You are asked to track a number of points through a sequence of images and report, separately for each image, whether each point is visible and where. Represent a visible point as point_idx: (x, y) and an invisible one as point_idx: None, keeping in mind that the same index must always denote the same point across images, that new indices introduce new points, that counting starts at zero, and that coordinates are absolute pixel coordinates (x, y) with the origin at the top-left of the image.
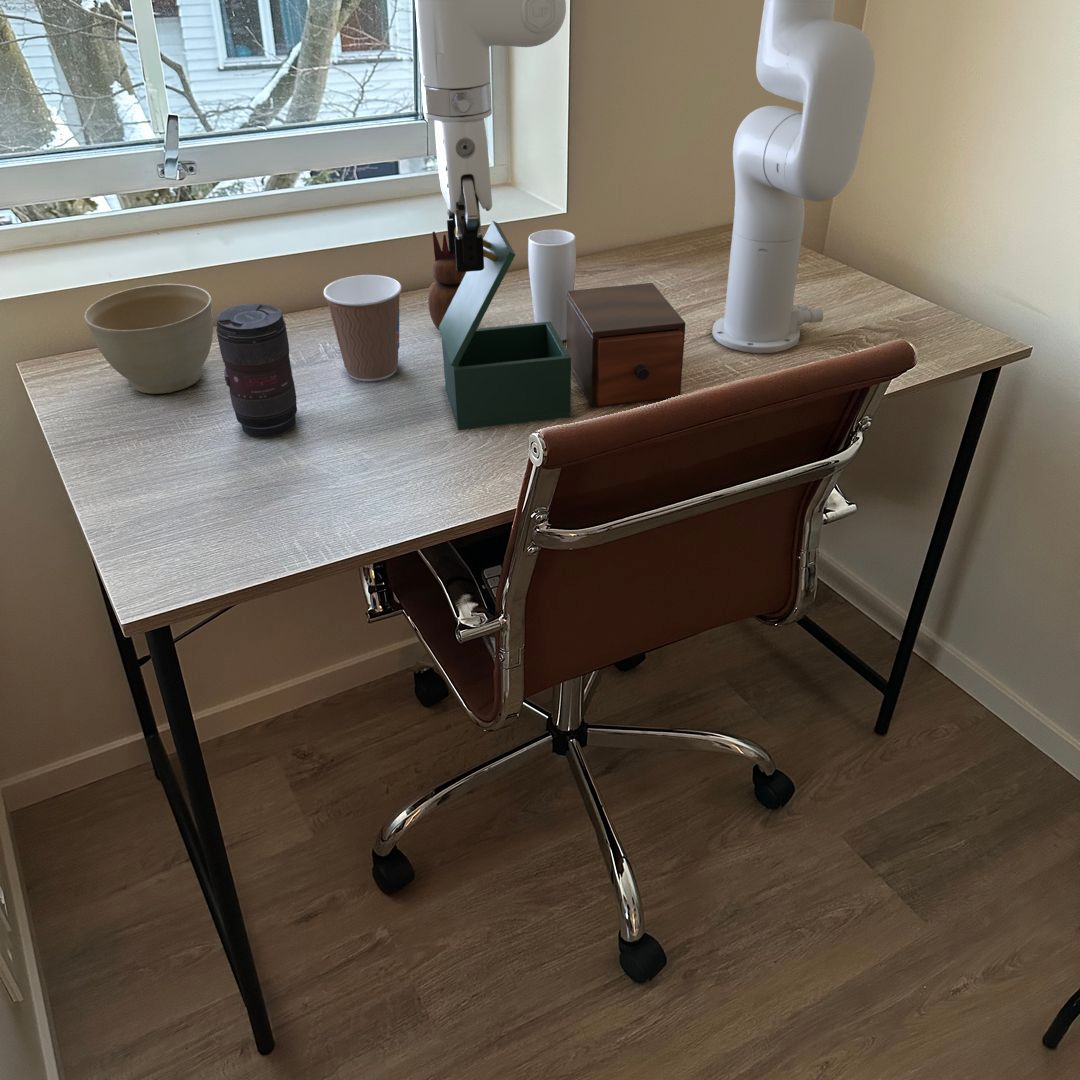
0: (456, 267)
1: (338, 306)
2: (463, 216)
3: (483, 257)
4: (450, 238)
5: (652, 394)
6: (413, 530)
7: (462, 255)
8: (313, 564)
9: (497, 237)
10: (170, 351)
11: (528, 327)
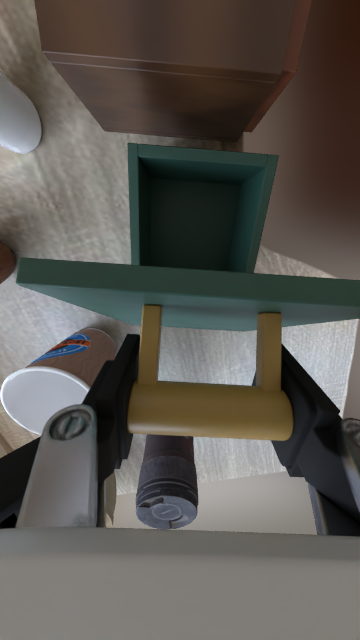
0: None
1: None
2: (112, 444)
3: (294, 359)
4: None
5: None
6: (345, 354)
7: None
8: (341, 404)
9: (196, 300)
10: (112, 488)
11: (139, 192)
